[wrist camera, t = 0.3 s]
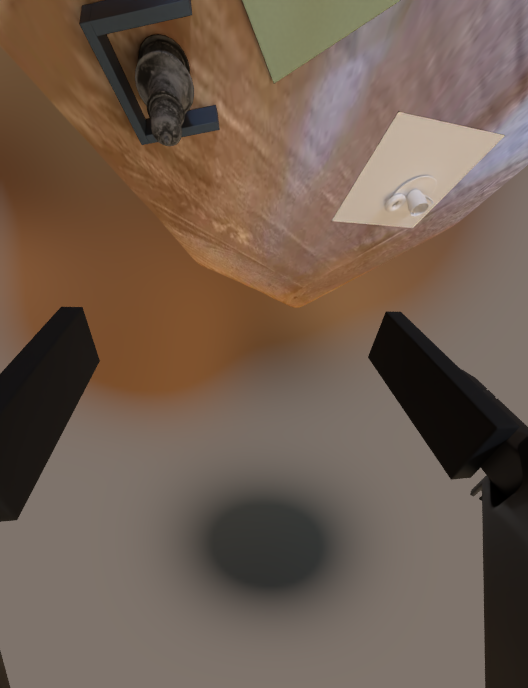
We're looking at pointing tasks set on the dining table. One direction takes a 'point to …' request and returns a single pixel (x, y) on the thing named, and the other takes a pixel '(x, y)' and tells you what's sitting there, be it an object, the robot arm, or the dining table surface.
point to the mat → (305, 27)
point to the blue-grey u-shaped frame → (112, 16)
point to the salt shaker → (164, 86)
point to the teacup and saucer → (413, 170)
